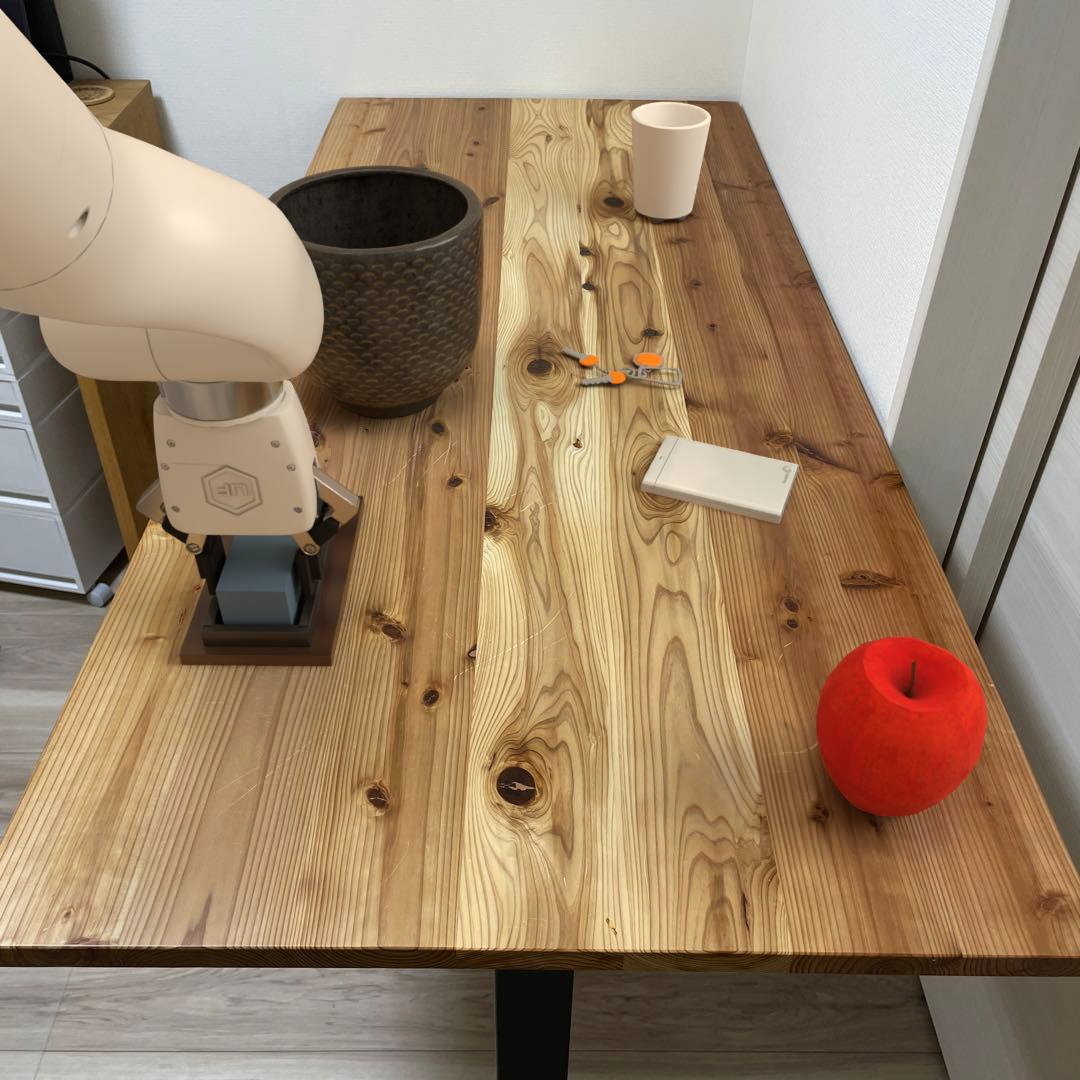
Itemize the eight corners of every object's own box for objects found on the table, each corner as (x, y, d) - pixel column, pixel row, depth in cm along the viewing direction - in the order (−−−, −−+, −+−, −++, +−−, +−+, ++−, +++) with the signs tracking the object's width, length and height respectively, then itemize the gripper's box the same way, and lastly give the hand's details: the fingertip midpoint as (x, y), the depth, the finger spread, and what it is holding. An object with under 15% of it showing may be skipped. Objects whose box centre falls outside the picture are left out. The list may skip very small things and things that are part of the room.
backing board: (332, 665, 78) (328, 641, 76) (181, 664, 78) (174, 640, 76) (364, 504, 93) (361, 481, 91) (237, 503, 92) (232, 480, 91)
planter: (262, 438, 100) (226, 246, 88) (319, 334, 115) (295, 158, 103) (470, 454, 98) (462, 261, 86) (500, 346, 113) (497, 169, 101)
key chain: (683, 356, 112) (683, 349, 111) (681, 394, 106) (682, 387, 106) (562, 347, 113) (562, 340, 113) (554, 384, 108) (554, 377, 107)
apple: (928, 728, 74) (976, 601, 66) (977, 852, 67) (1038, 725, 59) (785, 731, 74) (817, 603, 66) (819, 856, 66) (859, 728, 58)
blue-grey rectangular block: (246, 572, 84) (236, 528, 81) (309, 572, 84) (302, 528, 81) (226, 635, 79) (215, 590, 76) (294, 636, 79) (285, 591, 76)
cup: (663, 236, 135) (673, 134, 127) (609, 211, 140) (614, 112, 132) (715, 215, 140) (727, 116, 132) (661, 192, 146) (669, 96, 137)
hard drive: (800, 462, 96) (667, 431, 100) (781, 514, 91) (641, 480, 94) (796, 477, 97) (665, 446, 101) (778, 530, 92) (639, 495, 95)
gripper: (68, 408, 66) (135, 617, 77) (348, 410, 66) (374, 619, 78) (105, 346, 72) (163, 550, 83) (364, 349, 72) (386, 551, 83)
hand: (265, 581), depth 80 cm, fingers open, 6 cm apart
